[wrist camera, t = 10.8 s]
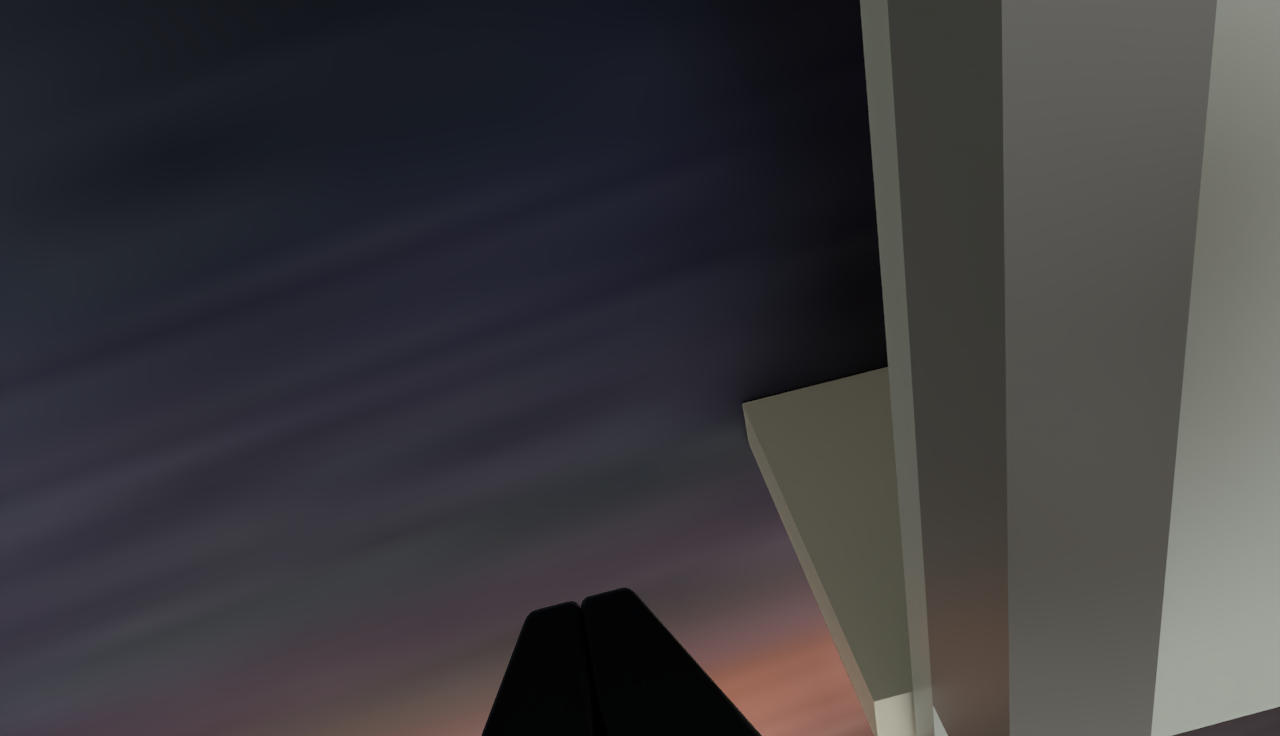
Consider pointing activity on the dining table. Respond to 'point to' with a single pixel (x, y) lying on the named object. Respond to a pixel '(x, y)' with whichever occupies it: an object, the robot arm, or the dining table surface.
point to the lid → (1082, 357)
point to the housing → (845, 527)
